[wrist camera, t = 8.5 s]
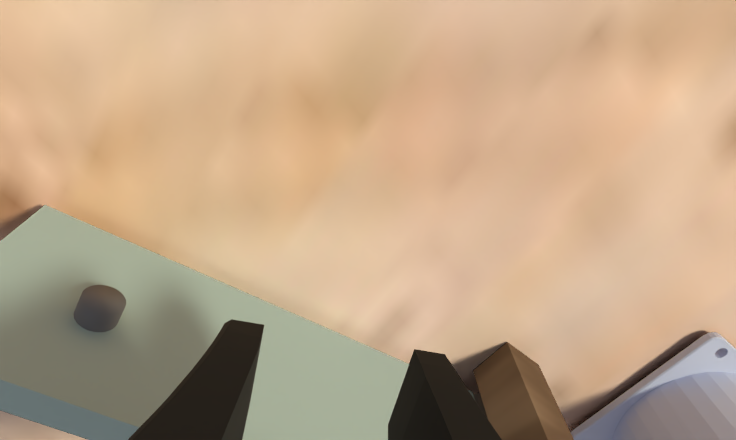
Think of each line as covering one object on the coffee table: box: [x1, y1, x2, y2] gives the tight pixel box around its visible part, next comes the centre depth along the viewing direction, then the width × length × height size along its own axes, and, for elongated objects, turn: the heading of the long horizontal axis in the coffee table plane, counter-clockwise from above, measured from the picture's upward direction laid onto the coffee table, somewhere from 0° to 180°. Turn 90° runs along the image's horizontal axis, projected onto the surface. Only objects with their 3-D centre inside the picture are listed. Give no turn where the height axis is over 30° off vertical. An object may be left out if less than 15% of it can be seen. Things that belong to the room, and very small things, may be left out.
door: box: [0, 205, 488, 440], centre depth 17 cm, size 19×2×7 cm, turn 60°
